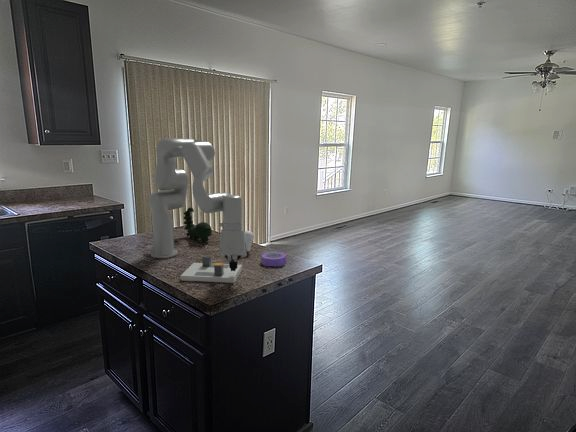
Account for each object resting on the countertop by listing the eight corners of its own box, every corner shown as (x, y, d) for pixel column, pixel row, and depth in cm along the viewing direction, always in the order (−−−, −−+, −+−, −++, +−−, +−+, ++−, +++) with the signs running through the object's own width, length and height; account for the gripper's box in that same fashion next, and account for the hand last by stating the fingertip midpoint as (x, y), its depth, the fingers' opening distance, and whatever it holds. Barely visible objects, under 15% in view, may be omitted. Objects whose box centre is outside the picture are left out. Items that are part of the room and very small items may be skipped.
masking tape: (256, 263, 170) (256, 255, 169) (272, 257, 178) (272, 249, 178) (274, 269, 162) (274, 260, 162) (291, 262, 171) (291, 255, 170)
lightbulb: (242, 249, 189) (242, 229, 186) (254, 249, 189) (253, 229, 187) (241, 253, 183) (241, 232, 181) (253, 253, 183) (253, 232, 181)
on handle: (202, 265, 157) (202, 257, 156) (204, 263, 160) (204, 255, 159) (209, 266, 157) (209, 257, 156) (211, 263, 160) (211, 255, 159)
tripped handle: (214, 275, 147) (214, 265, 146) (216, 272, 150) (216, 262, 149) (221, 275, 147) (221, 265, 146) (223, 272, 150) (223, 262, 149)
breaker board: (180, 280, 147) (180, 275, 146) (193, 266, 162) (193, 262, 162) (234, 282, 145) (234, 277, 145) (242, 268, 161) (242, 264, 161)
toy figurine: (181, 240, 211) (204, 245, 194) (178, 207, 209) (201, 210, 191) (195, 237, 218) (219, 242, 200) (192, 206, 215) (216, 208, 197)
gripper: (211, 227, 141) (212, 272, 144) (249, 229, 140) (250, 274, 143) (216, 223, 148) (217, 266, 152) (252, 224, 147) (253, 267, 151)
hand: (233, 270), depth 147 cm, fingers closed
